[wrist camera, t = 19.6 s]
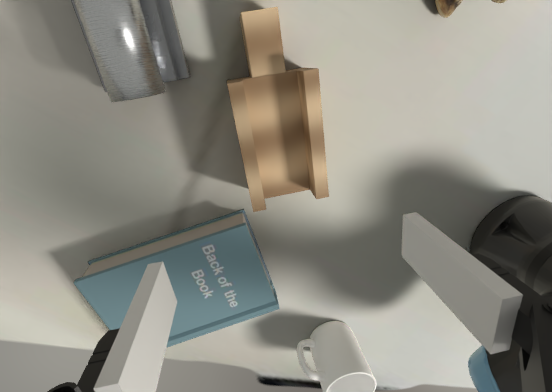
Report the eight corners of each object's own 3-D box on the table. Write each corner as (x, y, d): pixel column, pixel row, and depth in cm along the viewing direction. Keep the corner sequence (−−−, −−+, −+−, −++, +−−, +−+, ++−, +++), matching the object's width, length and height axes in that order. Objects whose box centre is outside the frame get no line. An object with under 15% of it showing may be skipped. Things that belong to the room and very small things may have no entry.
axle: (170, 90, 31) (159, 94, 27) (121, 98, 31) (102, 104, 26) (125, -69, 26) (102, -97, 21) (65, -61, 25) (29, -88, 21)
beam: (313, 176, 41) (328, 196, 35) (249, 189, 41) (253, 212, 34) (295, 9, 33) (312, -4, 27) (214, 21, 32) (212, 11, 26)
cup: (339, 355, 57) (361, 410, 48) (282, 346, 54) (294, 404, 45) (359, 323, 55) (386, 375, 46) (300, 312, 51) (316, 366, 42)
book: (243, 207, 42) (245, 224, 38) (275, 290, 49) (280, 313, 45) (89, 259, 42) (73, 282, 37) (143, 335, 49) (135, 363, 44)
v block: (70, -17, 29) (48, -28, 26) (163, -30, 30) (154, -43, 26) (109, 90, 33) (95, 93, 30) (190, 76, 34) (186, 78, 30)
